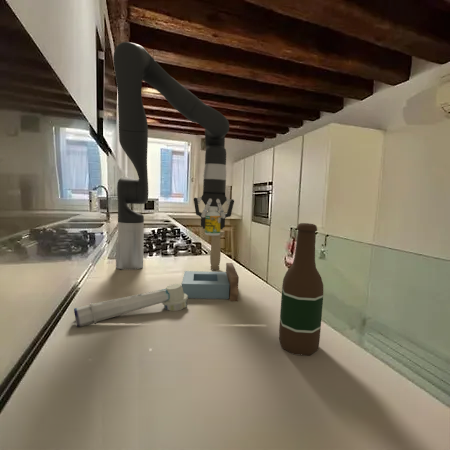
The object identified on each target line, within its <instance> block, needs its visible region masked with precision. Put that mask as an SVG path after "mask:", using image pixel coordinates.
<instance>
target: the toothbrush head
mask: <svg viewBox="0 0 450 450" xmlns="http://www.w3.org/2000/svg"><path fill="white" fill-rule="evenodd" d="M188 299H189V298H188V295H186V294H184V292H183V288H182V284H179V283H173V284H169V285H167V286H166V287H165V288H163V289H158V290H154V291H147V292H144V293H140V294H133V295H129V296H124V297H123V296H122V297H119V298H112V299H108V300H104V301H98V302H95V303H93V302H92V301H91V302H90V304H86V305H82V306H78V307H74V308H73V313H74V319H75V324H76V327H77V328H79V327H83V326H87V325H92V324H95V325H96V324H97V322H101V321H104V320H108V319H111V318H114V317H119V316H122V315H125V314H128V313H132V312H135V311H138V310H142V309H145V308H146V309H147V308H148V307H151V306H155V305H159V304H162V305H163V307H164V309H165V310H167V311H174V312H175V311H180V310H183V309H186V308H187V306H188V303H187V301H188Z"/></svg>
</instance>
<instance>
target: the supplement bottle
mask: <svg viewBox="0 0 450 450" xmlns="http://www.w3.org/2000/svg"><path fill="white" fill-rule="evenodd" d="M220 228H221V214H220V211H219V208H218V207H212V206H209V208H208V211H207V213H206V215H205V229H204V234H205V235H207V236H210V235H220V230H221V229H220Z"/></svg>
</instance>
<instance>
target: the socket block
mask: <svg viewBox="0 0 450 450" xmlns="http://www.w3.org/2000/svg"><path fill="white" fill-rule="evenodd" d="M181 286H182V288H183V292H184V294H186V295H188V299H205V300H206V299H214V300H215V299H216V300H230V299H229V287H230V284H229V281H228V278H227V274H226V271H206V270H205V271H203V270H202V271H200V270H197V271H196V270H184V273H183V276H182V281H181Z"/></svg>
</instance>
